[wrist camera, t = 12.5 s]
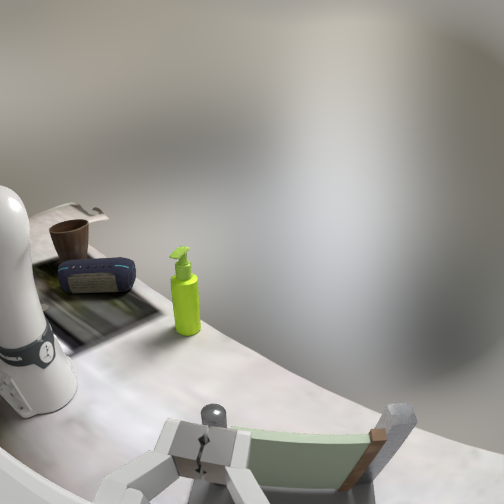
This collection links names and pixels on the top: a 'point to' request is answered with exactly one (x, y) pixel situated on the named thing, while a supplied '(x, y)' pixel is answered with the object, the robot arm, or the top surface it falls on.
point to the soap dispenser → (185, 295)
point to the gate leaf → (311, 458)
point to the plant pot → (70, 239)
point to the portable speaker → (97, 275)
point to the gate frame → (315, 500)
